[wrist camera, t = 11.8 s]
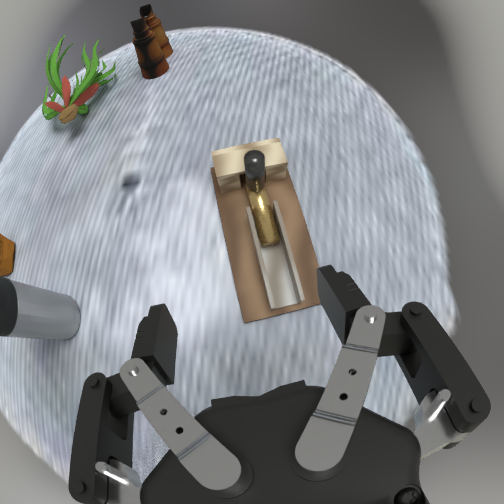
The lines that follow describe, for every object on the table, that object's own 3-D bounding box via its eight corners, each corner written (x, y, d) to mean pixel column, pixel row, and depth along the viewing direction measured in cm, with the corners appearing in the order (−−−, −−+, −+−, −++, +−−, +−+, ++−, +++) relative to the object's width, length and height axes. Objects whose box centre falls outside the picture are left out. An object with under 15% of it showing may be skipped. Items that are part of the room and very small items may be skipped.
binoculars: (167, 75, 61) (148, 20, 42) (140, 82, 61) (117, 30, 42) (174, 45, 66) (161, -2, 47) (150, 51, 66) (134, 6, 47)
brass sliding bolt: (261, 248, 44) (260, 224, 34) (239, 167, 49) (234, 130, 38) (280, 243, 44) (285, 218, 34) (256, 163, 49) (255, 126, 38)
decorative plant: (69, 160, 61) (67, 104, 68) (135, 105, 58) (121, 59, 65) (4, 123, 36) (21, 69, 43) (76, 46, 33) (80, 13, 40)
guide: (244, 322, 43) (241, 322, 37) (211, 170, 51) (205, 151, 45) (327, 301, 44) (337, 297, 37) (281, 155, 51) (283, 134, 45)
